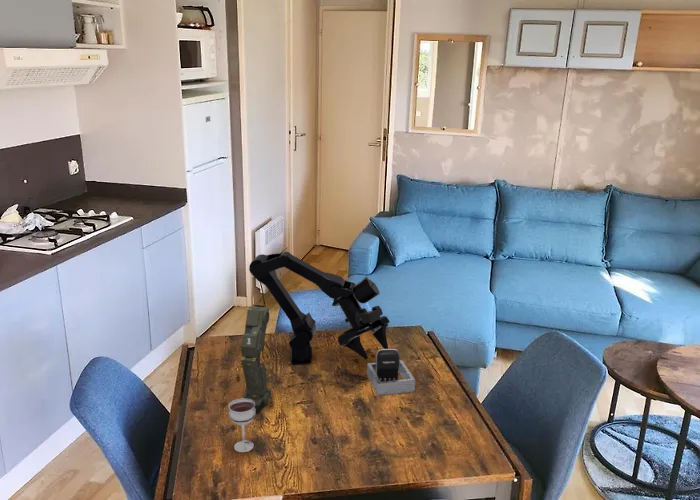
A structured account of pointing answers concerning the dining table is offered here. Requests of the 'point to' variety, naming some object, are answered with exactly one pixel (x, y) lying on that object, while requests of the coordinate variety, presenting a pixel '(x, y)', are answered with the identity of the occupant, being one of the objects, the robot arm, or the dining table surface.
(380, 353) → the battery charger
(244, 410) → the wineglass
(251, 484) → the dining table surface
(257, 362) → the mechanical leg
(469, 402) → the dining table surface
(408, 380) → the hollow square metal frame
